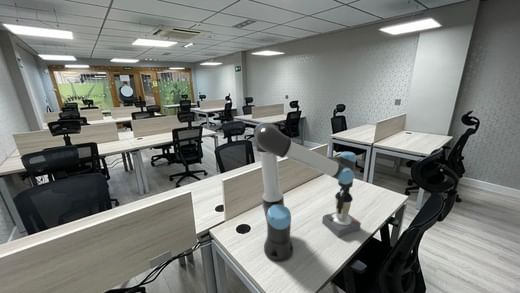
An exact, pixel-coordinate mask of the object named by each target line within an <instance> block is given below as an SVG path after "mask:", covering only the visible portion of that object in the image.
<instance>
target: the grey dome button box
mask: <svg viewBox="0 0 520 293" xmlns="http://www.w3.org/2000/svg"><path fill="white" fill-rule="evenodd" d="M321 224H322V225H323V226H325V227H326V228H327V229H328V230H329V231H330V232H332V234H334V235H335V236H336V237H337V238H341V237H345V236H347V235H350V234H353V233H356V232H359V231H361V224H362V223H361V222H360V221H359V220H358V219H356V218H355V217H354V216H352V215H351V214H349V213H348V216H347V219H346V220H339V219H338V218H337V217H336V211H335V212H333V213H332V212H331V213H327V214H324V215H322V222H321Z"/></svg>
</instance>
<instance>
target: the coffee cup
mask: <svg viewBox="0 0 520 293" xmlns="http://www.w3.org/2000/svg"><path fill="white" fill-rule="evenodd" d="M339 192H340V191H338V192H337V193H336V194H335V196H334V197H335V210H336V211H335V212H336V217H337V211H338V208H337V207H336V206H337V203H338V197H339ZM344 196H345V195H344ZM343 199H344V200H343V202H344V204H343V214H342V219H341V218H338V217H337V218H338V219H339V220H346V219H347V216H348V214H349V212H350V209H351V204H352V202H353V200H354V199H353V196H352V194H351V193H350V192H349V193H348V194H347V195H346V197H345V198H343Z"/></svg>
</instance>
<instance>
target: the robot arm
mask: <svg viewBox="0 0 520 293" xmlns="http://www.w3.org/2000/svg"><path fill="white" fill-rule="evenodd" d="M253 136H254V139H255V147H256V148H255V149H256V152H257V153H259V155H260V163H261V164H260V165H261V171H262V174H261V175H262V181H263V190H264V193H263V194H262V209H263V212H264V216H265V221H266V226H267V236H266V239H265V241H264V245H263V252H264V254H265V256H266V257H267V258H268V259H269V260H272V261H274V262H285V261H288V260H290V258H292V256H293V253H294V245H293V242H292V239H291V228H292V227H291V222H292V214H291V211H290V209H289V208H288V206H285V200H284V193H283V192H282V191H281V187H280V175H279V174H280V173H279V164H278V157H279V158H281V159H283V158H287V159H289V160H291V161H294V162H297V163H299V164H301V165H304V166H306V167H308V168H310V169H312V170H315V171H317V172H320V173H322V174H324V175H326V176H329V177H331V178H332V179H336V181H338V182H337V185H338V186H340V189H339V191H338V192H339V197H338V203H337V206H336V205H335V208H336V207H337V208H338V211H337V217H338V218H341V219H342V214H343V204H344V202H343V200H344V199H343V198H345V197H346V195H347V194H348V193H349V194H350V191H351V190H350V189H351V188H352V187H353V183H354V179H355V176H356V175H355V169H356V163H357V155H356V153H354V152H352V151H342V152H341V153H340V155H339V156H324V155H322V154H320V153H318V152H316V151H313V150H311V149H309V148H307V147H304V146H302V145H300V144H298V143H296V142H293V139H292V138H291V137H288V136H287V135H285V134H284V133H282V132H281V131H280V130H279V129H278V128H277V127H276V126H275V125H274V124H273V123H271V122H268V121H267V122H266V121H264V122H261V123H259V124H257V125H256V126H255V128H254V132H253ZM344 195H345V196H344Z"/></svg>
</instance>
